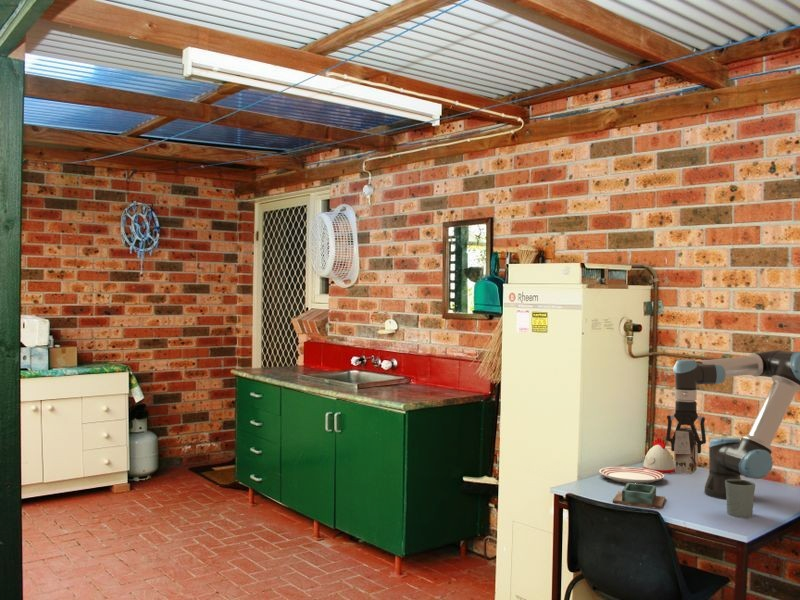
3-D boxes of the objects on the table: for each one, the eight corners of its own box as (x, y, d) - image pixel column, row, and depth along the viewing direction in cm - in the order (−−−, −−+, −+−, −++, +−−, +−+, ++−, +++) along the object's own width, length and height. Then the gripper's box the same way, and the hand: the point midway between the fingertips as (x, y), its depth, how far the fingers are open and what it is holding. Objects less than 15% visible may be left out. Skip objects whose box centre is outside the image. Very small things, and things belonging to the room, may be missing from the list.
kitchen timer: (658, 474, 335) (658, 441, 335) (636, 468, 348) (637, 436, 348) (681, 472, 341) (681, 439, 341) (659, 466, 354) (659, 434, 354)
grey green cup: (722, 515, 272) (723, 482, 272) (726, 509, 280) (727, 477, 280) (753, 520, 266) (753, 486, 266) (756, 513, 275) (756, 481, 275)
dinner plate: (601, 470, 344) (601, 463, 344) (664, 475, 335) (664, 468, 335) (596, 484, 318) (596, 476, 318) (664, 490, 309) (664, 482, 309)
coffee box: (692, 474, 276) (692, 431, 276) (674, 472, 279) (674, 430, 279) (697, 470, 284) (697, 428, 284) (679, 467, 287) (679, 426, 287)
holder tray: (665, 499, 294) (665, 486, 294) (661, 508, 280) (661, 495, 280) (618, 493, 301) (618, 481, 301) (612, 502, 288) (612, 489, 288)
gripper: (657, 400, 282) (657, 460, 282) (713, 403, 274) (713, 465, 274) (659, 397, 289) (659, 456, 289) (714, 400, 281) (714, 461, 281)
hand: (686, 460), depth 282 cm, fingers closed on coffee box, 7 cm apart
